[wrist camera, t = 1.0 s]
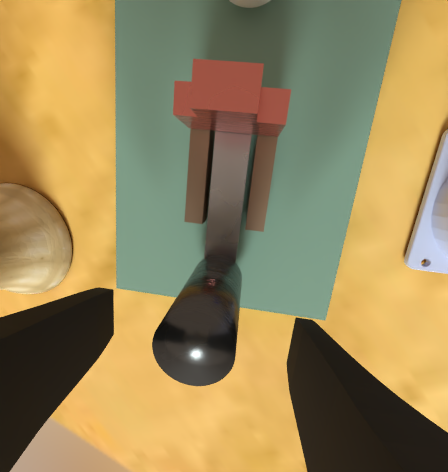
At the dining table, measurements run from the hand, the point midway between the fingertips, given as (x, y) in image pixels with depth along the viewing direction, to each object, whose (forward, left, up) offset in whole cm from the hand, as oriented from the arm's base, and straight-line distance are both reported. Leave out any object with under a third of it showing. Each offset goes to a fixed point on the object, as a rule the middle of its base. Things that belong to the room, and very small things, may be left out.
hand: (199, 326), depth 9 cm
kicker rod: (0, -4, -6) cm, 7 cm away
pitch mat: (0, -9, -7) cm, 11 cm away
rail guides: (0, -6, -6) cm, 8 cm away
